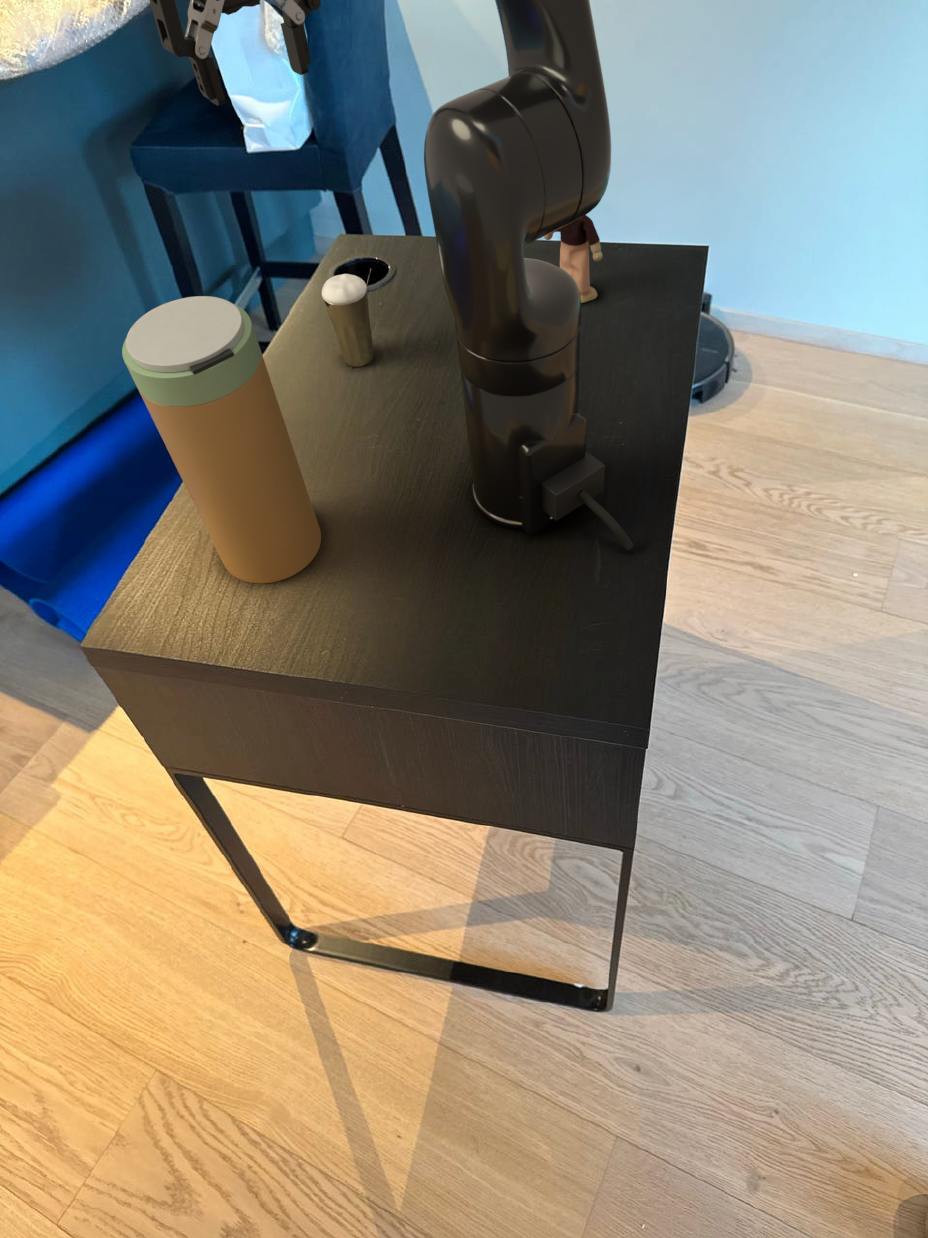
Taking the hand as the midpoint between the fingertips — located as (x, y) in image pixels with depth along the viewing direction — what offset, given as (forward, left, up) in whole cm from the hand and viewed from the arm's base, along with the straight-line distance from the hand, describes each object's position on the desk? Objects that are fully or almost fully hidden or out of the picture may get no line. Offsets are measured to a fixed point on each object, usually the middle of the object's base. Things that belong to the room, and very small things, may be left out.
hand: (260, 86), depth 76 cm
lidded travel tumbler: (-27, +21, -24) cm, 42 cm away
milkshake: (-9, 0, -24) cm, 26 cm away
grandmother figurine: (-16, -24, -24) cm, 38 cm away
